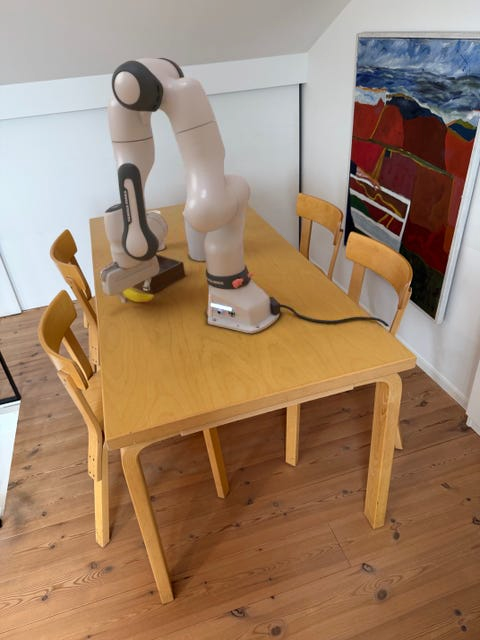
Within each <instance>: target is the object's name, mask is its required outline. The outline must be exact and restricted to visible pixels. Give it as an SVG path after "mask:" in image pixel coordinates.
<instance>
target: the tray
mask: <svg viewBox="0 0 480 640" xmlns="http://www.w3.org/2000/svg"><path fill="white" fill-rule="evenodd" d="M155 256H156V257H157V260H158V264H159V272H158V274H156V275H154V276H152V277H151V282H150V285H149V286H150V290H149V291H147V292H146V293H148V294H152V295H154V294H155V293H156V292H158V291H160V290H162V289H164V288H166V287H167V286H170V285H171V284H174V283H175V282H177V281H179V280H181V279H183V278H185V277H186V272H185V271H186V270H185V265H184V261H181V260H178V259H174V258H171V257H167V256H164V255H161V254H158V253H156V255H155ZM112 263H113V262H111V263H109V264H108V266H109V265H110V264H112ZM144 284H145V280H144V281H142V282H140V283H138V284H136V285H134V286H133V287H134V288H136V289H139V290H141V291H144V290H143V286H144Z"/></svg>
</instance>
